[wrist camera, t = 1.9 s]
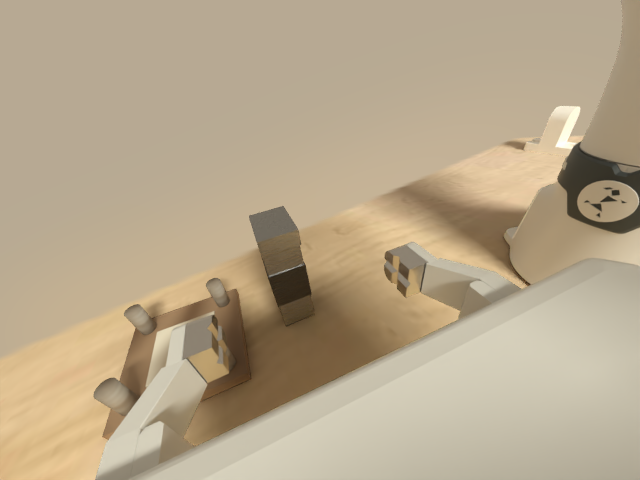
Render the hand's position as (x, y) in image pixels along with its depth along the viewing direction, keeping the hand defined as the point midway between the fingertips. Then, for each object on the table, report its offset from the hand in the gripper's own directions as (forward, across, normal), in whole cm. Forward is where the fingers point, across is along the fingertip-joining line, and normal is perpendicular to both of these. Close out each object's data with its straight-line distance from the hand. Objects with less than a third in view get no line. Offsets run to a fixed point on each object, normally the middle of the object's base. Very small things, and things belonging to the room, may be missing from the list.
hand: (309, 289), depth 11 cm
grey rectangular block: (+12, 0, +15) cm, 20 cm away
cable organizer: (+29, -73, +15) cm, 80 cm away
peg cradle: (+12, +12, +15) cm, 23 cm away
